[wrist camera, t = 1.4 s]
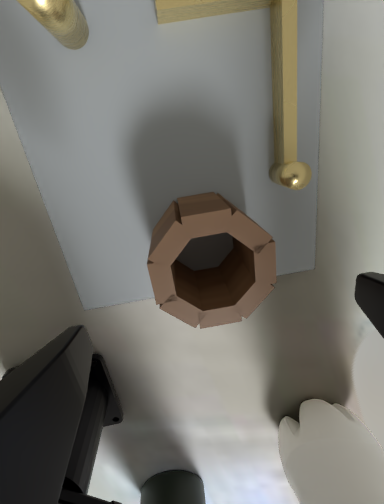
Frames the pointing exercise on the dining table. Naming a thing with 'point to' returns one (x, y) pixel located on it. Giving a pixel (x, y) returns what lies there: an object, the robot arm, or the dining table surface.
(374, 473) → the water bottle
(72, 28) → the end peg
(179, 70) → the slate board
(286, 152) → the bent rail
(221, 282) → the walnut ring
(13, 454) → the robot arm
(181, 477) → the wine bottle
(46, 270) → the dining table surface
